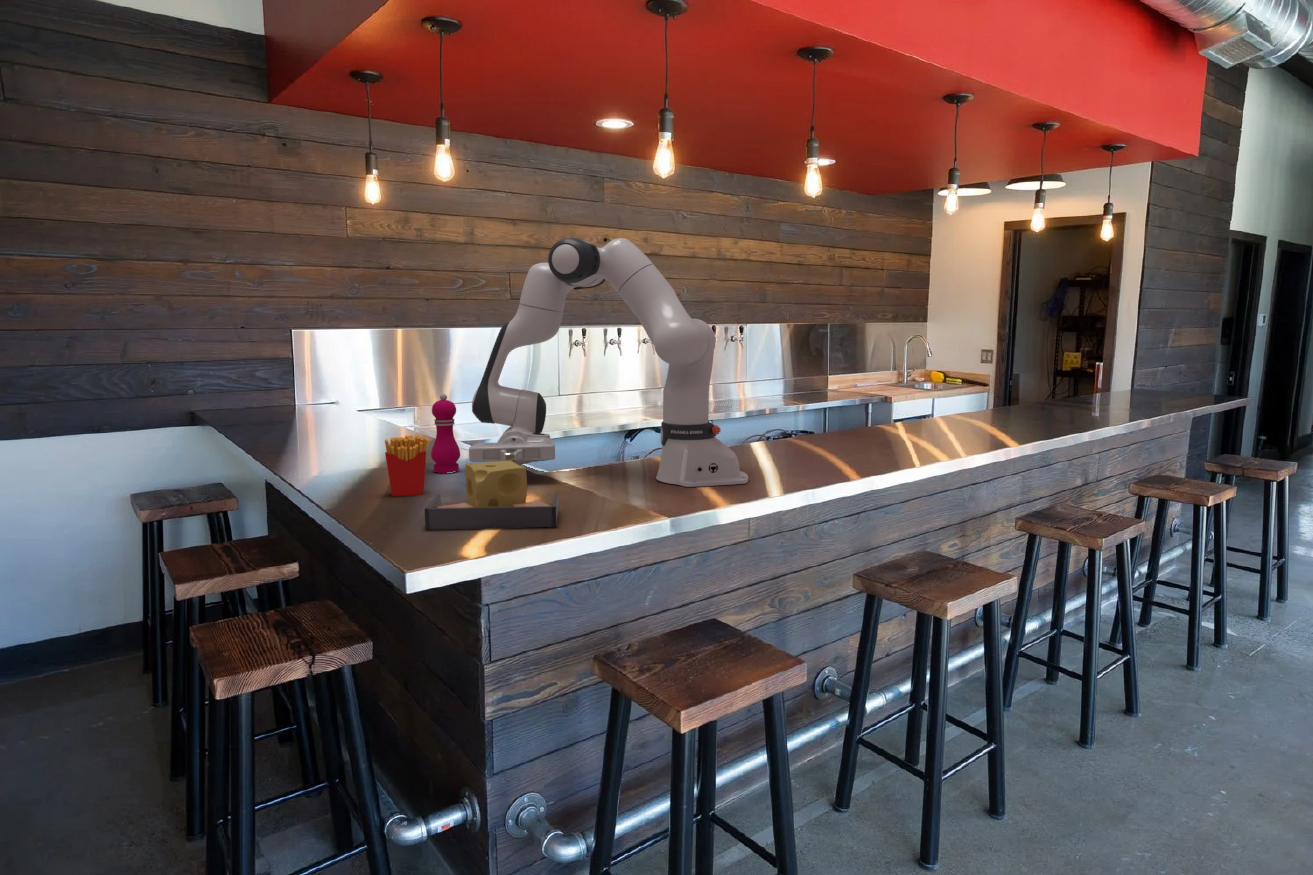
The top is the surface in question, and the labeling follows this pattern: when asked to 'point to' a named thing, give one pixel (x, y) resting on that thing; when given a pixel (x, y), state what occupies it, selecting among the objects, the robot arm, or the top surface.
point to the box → (489, 516)
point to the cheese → (495, 484)
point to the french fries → (406, 465)
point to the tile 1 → (456, 506)
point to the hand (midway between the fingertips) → (509, 457)
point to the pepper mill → (444, 437)
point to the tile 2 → (530, 504)
